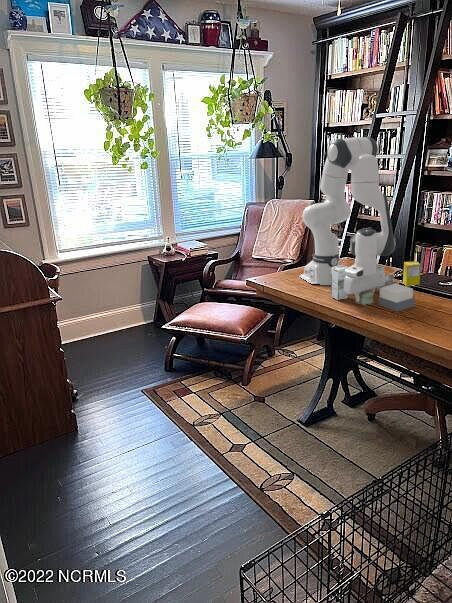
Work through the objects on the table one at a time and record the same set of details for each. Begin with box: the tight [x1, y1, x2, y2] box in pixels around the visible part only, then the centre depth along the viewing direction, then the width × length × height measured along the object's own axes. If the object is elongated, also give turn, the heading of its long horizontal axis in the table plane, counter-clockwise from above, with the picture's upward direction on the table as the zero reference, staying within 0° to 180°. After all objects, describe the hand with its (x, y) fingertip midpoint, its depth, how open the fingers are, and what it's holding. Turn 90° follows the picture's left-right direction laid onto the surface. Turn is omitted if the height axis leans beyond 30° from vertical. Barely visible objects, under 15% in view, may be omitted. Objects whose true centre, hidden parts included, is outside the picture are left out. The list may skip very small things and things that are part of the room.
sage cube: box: [355, 290, 374, 306], centre depth 193 cm, size 5×5×5 cm
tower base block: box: [378, 296, 416, 312], centre depth 188 cm, size 10×10×4 cm
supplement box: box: [402, 261, 422, 288], centre depth 208 cm, size 6×6×11 cm
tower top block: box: [379, 283, 414, 303], centre depth 186 cm, size 9×9×4 cm
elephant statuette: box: [377, 273, 398, 295], centre depth 205 cm, size 9×12×8 cm
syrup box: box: [330, 264, 350, 301], centre depth 199 cm, size 6×6×14 cm
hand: (364, 299), depth 193 cm, fingers closed on sage cube, 5 cm apart
